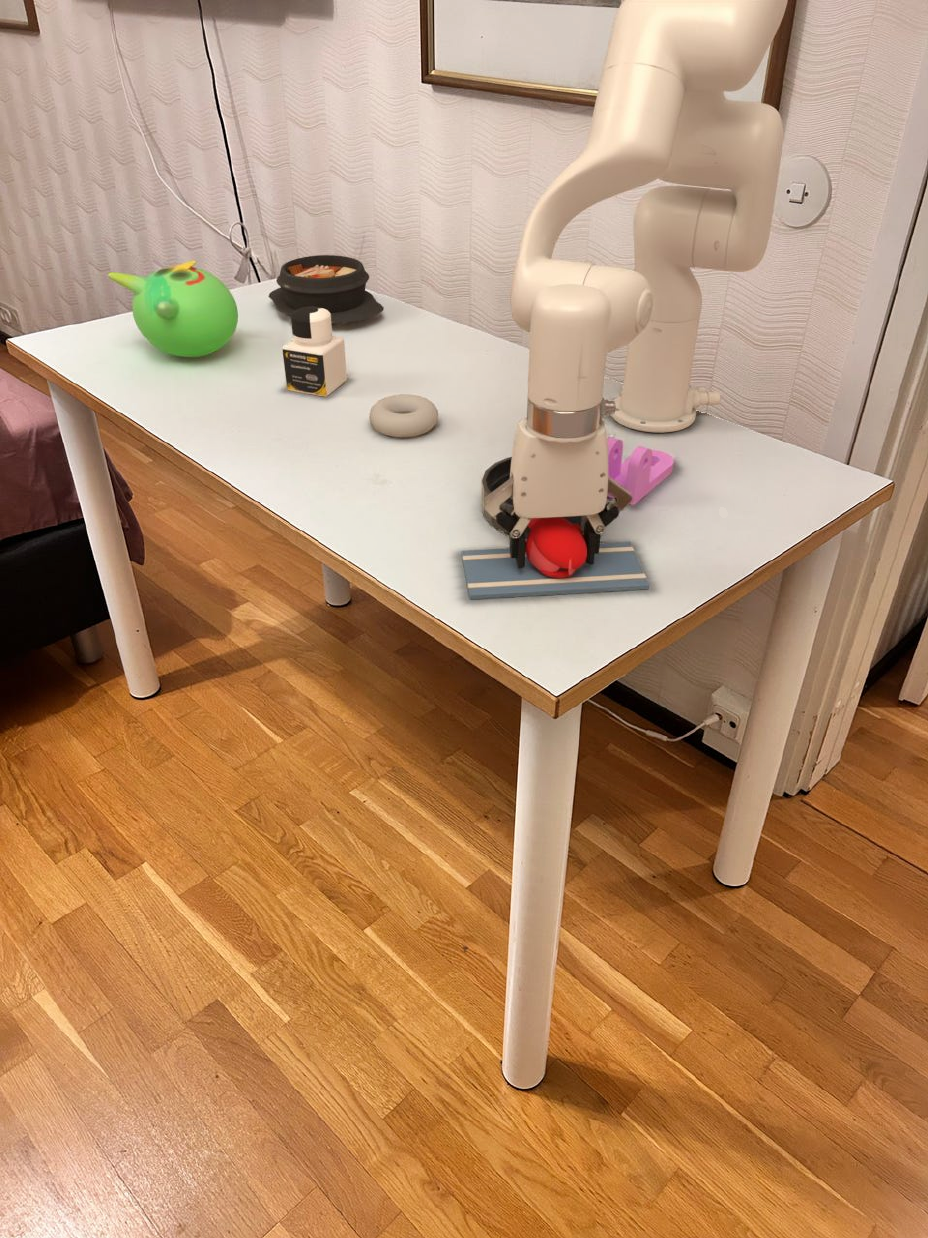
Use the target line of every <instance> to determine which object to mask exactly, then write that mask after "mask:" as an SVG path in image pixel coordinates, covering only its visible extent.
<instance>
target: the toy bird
mask: <svg viewBox="0 0 928 1238" xmlns="http://www.w3.org/2000/svg"><path fill="white" fill-rule="evenodd" d="M197 262H198V261H197V260H189V261H186V262H183V263H180V264H177V265H173V266H168V267H163V268H160V269H158V270H156V271H153V272H151V273H150V274H149V275H147V276H146V277H145V276H140V275H135V274H129V273H123V272H116V271H114V272H112V271H111V272H109V273H108V274H107V277H108V278H109V279H111V280H112V282H115V283H116V284H118V285H120V286H122V287H123V288H125V289H126V290H129V291H130V292H132V293H133V297H132V302H131V310H132V316H133V320H134V322H135V325H136V327H137V329H138V330H139V331H140V333H141V334H142V336H143V337H144V338H145V339H146V340H147V341H148V342H149V343H150V344H151V345H153V346H154V347H155V348H156V349H158V350H160V351H161V352H164V353H166V354H169V355H172V356H175V357H181V358H198V357H203V356H207V355H210V354H213V353H215V352H217V351H219V350H220V349H222V348H223V347H225V346H226V345H227V343H229V342H230V340H231V339H232V338H233V336H234V334H235V332H236V330H237V327H238V323H239V322H238V321H239V312H238V311H239V310H238V306H237V303H236V300H235V298H234V296H233V294H232V293H231V290H229V287H227V286H226V284H224V282H223V281H222V280H220V279H219V278H218V277H217V276H215V275H214V274H213V273H211V272H209V271H207V270H204V269H202V268H199V267H195V265H196V264H197Z"/></svg>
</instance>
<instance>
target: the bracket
mask: <svg viewBox="0 0 928 1238" xmlns="http://www.w3.org/2000/svg"><path fill="white" fill-rule="evenodd" d="M607 444H608V476H610V477H611V478H612V479H614V480H615V481H616V482H618V483H619V484H620V485H622V486H623V487H625V488H626V489H627V490H629V492H630V493H631V495H632V498H633V499H632V501H631V502H630V503H629V504H628V505H631V506H634V505H636V504H637V503H638V502H639V501H641V500H642V499H643V498H644V497H646V496H647V495H648V494H650V492H651V491H652V490H654V489H655V488H656V487H658V485H660V483H662V482H663V481H664V480H666V478H668V477H669V476H670V475H672V473H673V471H674V470H673V468H674V462H675V459H674V458H673V456H672V455H671V454H669V453H668V452H665V451H662V450H658V449H651V448H649V447H645V446H641V445H638V446H636V447H635V448H634V449H633V451H632V452H631V454H630V456H629V457H628V458H626V459H625V460H624V461H622V460H623V451H624V443H623V441H622V440H621V439H618V438H616V437H612V436H607ZM607 498H611V499H613V498H614V497H613V496H612V495H611V494H609V493H608V494H607Z"/></svg>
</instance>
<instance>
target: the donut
mask: <svg viewBox="0 0 928 1238" xmlns="http://www.w3.org/2000/svg"><path fill="white" fill-rule="evenodd" d="M369 411H370V412H369V416H368V417H369V421H370V424H371V425H372V427H373V429H375V430H376V431H378V432H379V433H380V434H383V435H386V436H389V437H393V438H412V437H417V436H421V435H424V434H426V433H428V432H430V431H431V430H432V429H433V428H435V426H436V425H437V422H438V418H439V411H438V409H437V407H436V405H435V403H433V402H432V400H429V399H428V398H426V397H423V396H420V395H416V394H409V393H408V394H407V393H405V394H402V393H401V394H394V395H393V394H392V395H390V396H386V397H383V398H381V399H380V400H378V401H377V402H375V403H374V404H373V405H372V407H371V408H370V410H369Z"/></svg>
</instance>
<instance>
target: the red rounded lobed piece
mask: <svg viewBox="0 0 928 1238" xmlns="http://www.w3.org/2000/svg"><path fill="white" fill-rule="evenodd" d="M528 526H529V529H530V531H531V532H530V534H529V536H528V538H527V539H526V555H527V558H528V560H529V561H530V562H531V563H532V564H533V565H534V566H535V567H536V568H537V569H538V570H539V571H540V572H541V573H543V574H544V575H546V576H549V577H555V578H564V577H569V576H571V575H572V574H573V573H574V572H575V571H576V570H577V568H579V567H581V566H582V565H583V564H584V562H585V561H586V558H587V546H586V543H585V540H584V537H583V532H582V530H581V528H580V526H579V525H578V524H574V525H573V524H572V523H570V522H569V521H567V520H566V519H564V518H562V517H551V518H532V519H531V521H530V522H529V524H528ZM560 567H561V568H565V569H566V570H558V569H559V568H560Z"/></svg>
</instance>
